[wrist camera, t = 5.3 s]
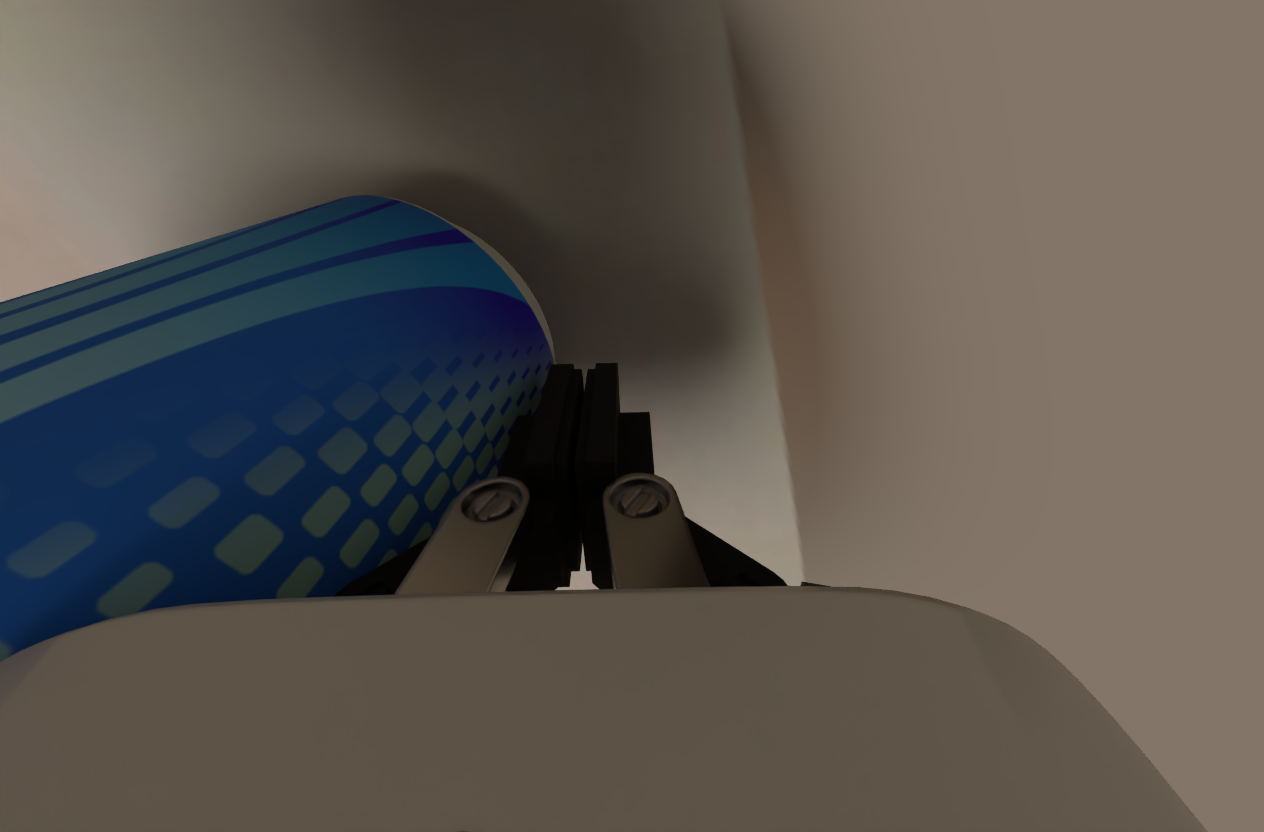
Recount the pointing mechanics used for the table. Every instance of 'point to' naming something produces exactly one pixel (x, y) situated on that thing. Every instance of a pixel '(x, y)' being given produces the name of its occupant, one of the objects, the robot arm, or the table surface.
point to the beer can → (253, 412)
